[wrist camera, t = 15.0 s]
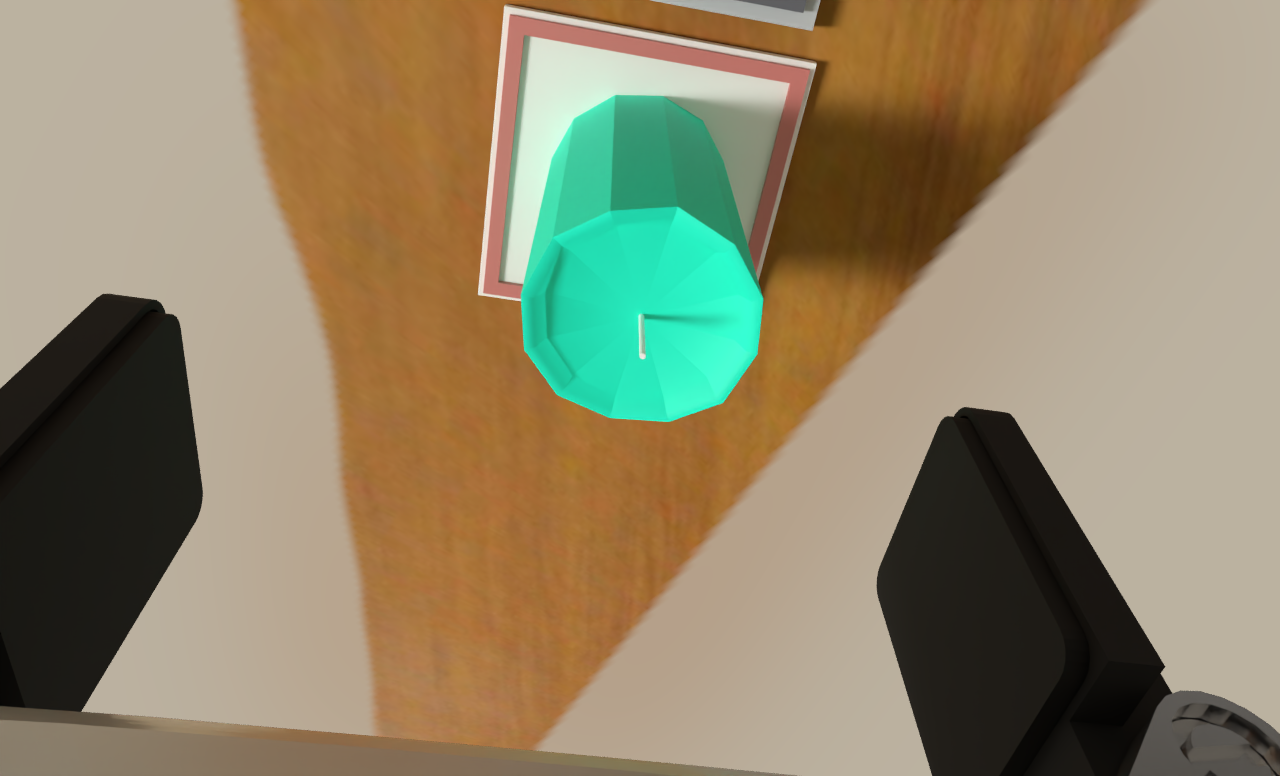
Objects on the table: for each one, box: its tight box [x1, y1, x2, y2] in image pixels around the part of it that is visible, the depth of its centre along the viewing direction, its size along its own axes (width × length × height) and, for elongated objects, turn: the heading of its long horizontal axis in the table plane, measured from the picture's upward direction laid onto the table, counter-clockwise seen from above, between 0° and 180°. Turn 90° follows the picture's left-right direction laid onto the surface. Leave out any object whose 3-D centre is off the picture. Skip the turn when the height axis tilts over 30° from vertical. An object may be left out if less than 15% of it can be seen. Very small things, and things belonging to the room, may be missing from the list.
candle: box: [521, 95, 763, 422], centre depth 26 cm, size 6×6×12 cm
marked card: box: [478, 4, 817, 301], centre depth 31 cm, size 10×10×1 cm
